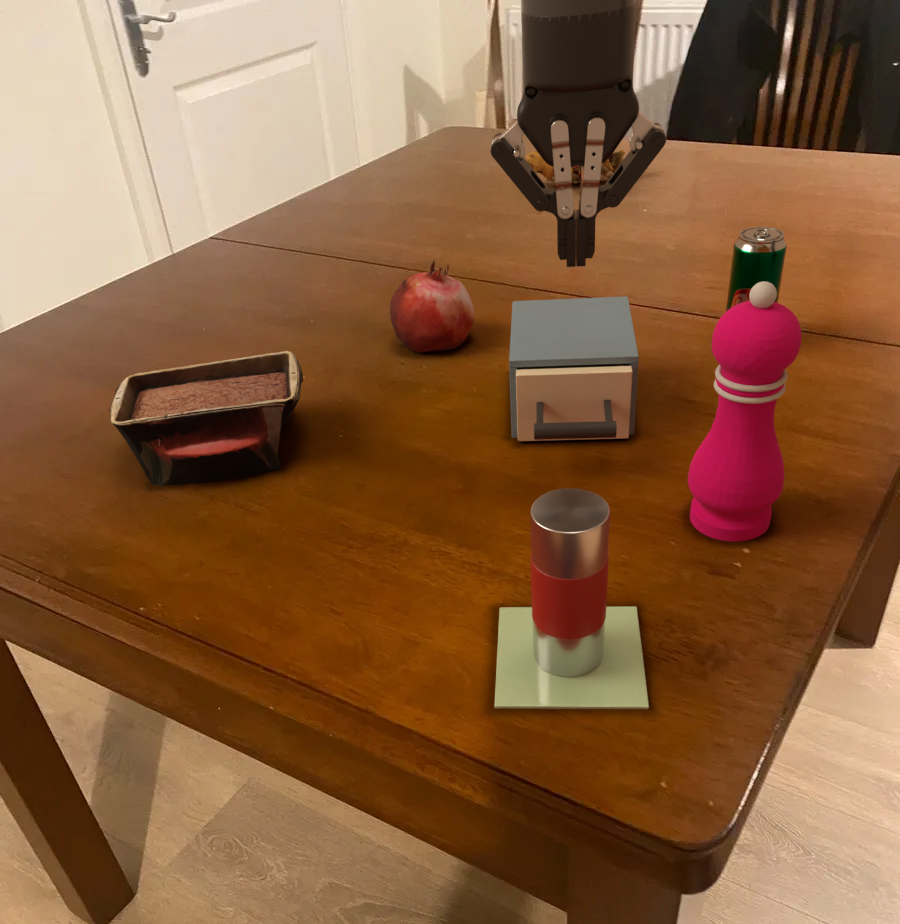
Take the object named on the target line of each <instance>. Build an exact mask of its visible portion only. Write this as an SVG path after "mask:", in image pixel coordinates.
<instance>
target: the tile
mask: <svg viewBox="0 0 900 924" xmlns="http://www.w3.org/2000/svg"><path fill="white" fill-rule="evenodd" d="M497 630H498V631H497V649H496V666H495V684H494V687H495V688H494V703H493V707H494V709H495V710H497V709H498V710H499V709H500V710H503V709H504V710H509V709H510V710H649V709H650V703H649V694H648V686H647V679H646V678H647V677H646V671H645V670H646V669H645V662H644V653H643V645H642V637H641V629H640V622H639V613H638V607H637V606H636V605H635V606H634V605H632V606H629V605H628V606H627V605H626V606H624V605H623V606H622V605H621V606H620V605H619V606H606V619H605V630H604V652H603V659H602V661H601V663H600V664H599V665H598V667H597V668H595V669H594V670H593V671H591V672H589V673H587V674H585V675H581V676H576V677H562V676H557V675H553V674H551V673H549V672H547V671H545V670H544V669H542V668H541V667H540V666H539V665H538V664H537V662H536V660H535V658H534V653H533V619H532V606H508V607H507V606H506V607H505V606H501V607H499V610H498V627H497Z"/></svg>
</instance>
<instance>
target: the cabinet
mask: <svg viewBox="0 0 900 924" xmlns="http://www.w3.org/2000/svg"><path fill="white" fill-rule="evenodd" d="M508 356H509V357H508V368H509V369H508V370H509V373H508V374H509V399H510V400H509V401H510V402H509V403H510V426H511V427H510V428H511V430H510V431H511V439H516V438H517V439H518V432H517V399H516V370H521V369H523V367H541V366H570V365H599V364H623V366H632V389H631V406H630V423H629V436H632V435H635V425H636V410H637V409H636V407H637V394H638V377H639V360H640V356H639V349H638V344H637V338H636V334H635V327H634V322H633V316H632V310H631V305H630V301H629V296H628V295H627V296H607V297H606V296H603V297H602V296H601V297H580V298H556V299H553V298H552V299H531V300H513V301H512V305H511V323H510V339H509V355H508Z"/></svg>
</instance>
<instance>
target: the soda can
mask: <svg viewBox="0 0 900 924" xmlns="http://www.w3.org/2000/svg"><path fill="white" fill-rule="evenodd" d="M785 235H786V234H785V232H784V231H783V230H781V229H780V228H779V229H778V228H775V227H771V226H770V227H769V226H754V227H753V226H751V227H747V228H745V229H742V230H741V231H739V233H738V238H737V239H736V240H735V242H734V243H733V248H732V258H731V265H730V274H729V280H728V281H729V282H728V290H727V297H726V298H727V299H726V305H725V306H726V307H725V312H726V311H728V310H729V309H730V308H732V307H733V306H735V305H738V304H740V303H742V302H746V301H750V298H749V294H750V291H751V289H752V287H753V286H754V285H755V284H757V283H759V282H762V281H765V282H769V283H772V284H773V285H774V287H775V288H776V291H777V296H776V299H775V301H774V302H776V303H779V298H780V291H781V285H782V280H783V279H782V278H783V273H784V272H783V271H784V266H785V259H786V253H787V248H788V247H787V246H788V245H787V242H786V239H785Z"/></svg>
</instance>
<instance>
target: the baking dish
mask: <svg viewBox="0 0 900 924" xmlns="http://www.w3.org/2000/svg"><path fill="white" fill-rule="evenodd" d="M303 382H304V375H303V368H302V367H301V363H300V362H299V360H298V358H297V357H296V354H295V353H294V352H291V351H290V350H285V351H284V350H283V351H279V352H270V353H265V354H259V355H257V354H256V355H251V356H245V357H239V358H232V359H231V358H230V359H225V360H219V361H218V360H217V361H211V362H206V363H205V362H203V363H197V364H190V365H185V366H177V367H170V368H165V369H157V370H151V371H145V372H139V373H135V374H131V375H129V376H126V377H124V379H123V380H122V381H120V383H119V384H118V386H117V388H116V389H115V390H114V394H113V399H111V400H112V401H111V402H110V408H109V409H108V412H109V413H110V415H109V420H110V422H111V424H112V425H113V426H114V427H115V428H116V429H117V431H118V432H119V433H120V435H121V436H122V437H123V439H124V441H125V442H126V443H127V445H128V447H129V449H130V450H131V452H132V454H133V455H134V457H135V458H136V460H137V462H138V464H139V466H140V467H141V469H142V470H143V472H144V474H145V475H146V477H147V479H148V480H149V482H150V484H151V485H152V486H154V485H156V486H159V487H165V486H178V485H190V484H191V485H195V484H198V485H199V484H204V483H210V482H216V481H221V480H230V479H237V478H243V477H248V476H254V475H255V476H256V475H259V474H260V475H261V474H264V473H269V472H274V471H276V470H279V469H282V464H281V461H280V458H279V447H280V439H281V429H282V427H283V426H284V425H285V424H286V422H287V421H288V419H289V418H290V417H291V416H292V414H293V413H294V411H295V409H296V408H297V407H296V406H297V405H298V403H299V400H300V399H301V390H302V384H303Z"/></svg>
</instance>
